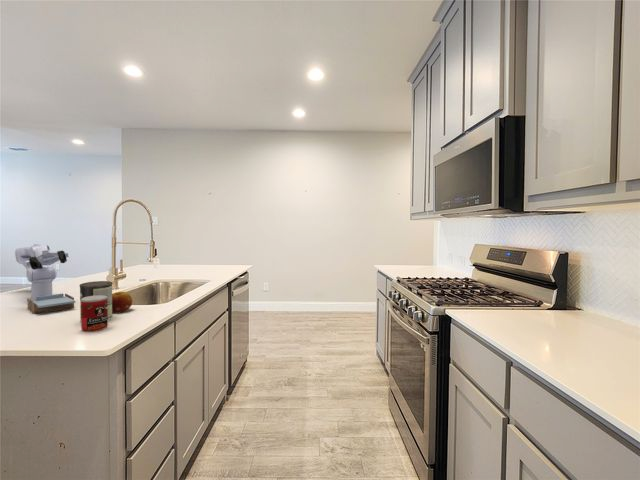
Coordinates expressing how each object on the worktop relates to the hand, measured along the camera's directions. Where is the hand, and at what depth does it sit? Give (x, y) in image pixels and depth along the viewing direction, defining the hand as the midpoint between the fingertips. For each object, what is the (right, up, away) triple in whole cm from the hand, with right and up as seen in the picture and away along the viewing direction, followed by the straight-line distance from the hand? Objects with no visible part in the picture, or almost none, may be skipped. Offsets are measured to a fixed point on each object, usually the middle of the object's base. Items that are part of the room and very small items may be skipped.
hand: (52, 263), depth 134 cm
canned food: (+35, -21, -23) cm, 47 cm away
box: (-1, -19, 0) cm, 19 cm away
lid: (+2, -16, -2) cm, 17 cm away
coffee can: (+29, -21, -14) cm, 38 cm away
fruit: (+30, -20, -2) cm, 36 cm away
